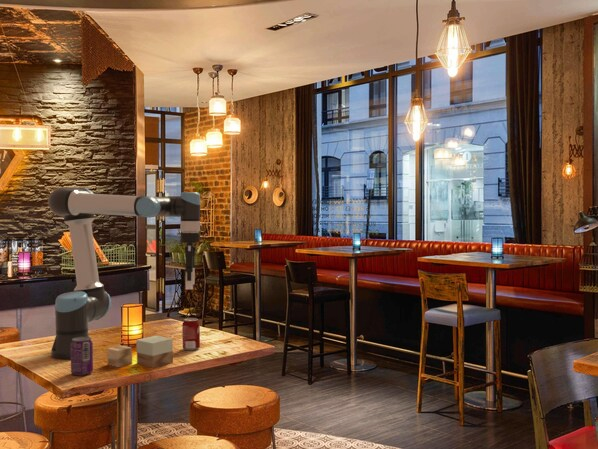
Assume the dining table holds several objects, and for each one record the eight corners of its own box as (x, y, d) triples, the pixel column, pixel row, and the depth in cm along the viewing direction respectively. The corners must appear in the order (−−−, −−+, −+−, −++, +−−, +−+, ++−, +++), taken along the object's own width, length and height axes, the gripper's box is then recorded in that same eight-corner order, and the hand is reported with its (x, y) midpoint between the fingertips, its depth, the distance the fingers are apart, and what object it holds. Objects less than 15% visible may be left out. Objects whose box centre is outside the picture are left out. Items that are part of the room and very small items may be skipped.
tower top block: (152, 355, 219) (152, 343, 219) (136, 352, 225) (136, 339, 224) (172, 351, 226) (172, 338, 226) (156, 347, 232) (156, 335, 232)
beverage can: (95, 370, 216) (95, 336, 215) (89, 376, 209) (88, 340, 208) (75, 370, 216) (74, 336, 215) (68, 376, 208) (67, 341, 208)
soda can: (196, 351, 243) (195, 321, 242) (179, 350, 244) (179, 320, 244) (202, 347, 249) (202, 317, 249) (186, 346, 251) (186, 317, 250)
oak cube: (117, 367, 220) (117, 350, 220) (107, 364, 224) (107, 348, 223) (132, 364, 225) (131, 347, 224) (122, 361, 228) (121, 345, 228)
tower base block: (152, 368, 219) (152, 355, 219) (137, 364, 225) (136, 352, 225) (172, 363, 226) (172, 351, 226) (157, 359, 232) (156, 347, 232)
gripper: (198, 233, 229) (198, 291, 229) (201, 230, 253) (201, 282, 254) (178, 233, 228) (178, 291, 229) (182, 230, 253) (182, 282, 253)
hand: (190, 286), depth 241 cm, fingers open, 13 cm apart
